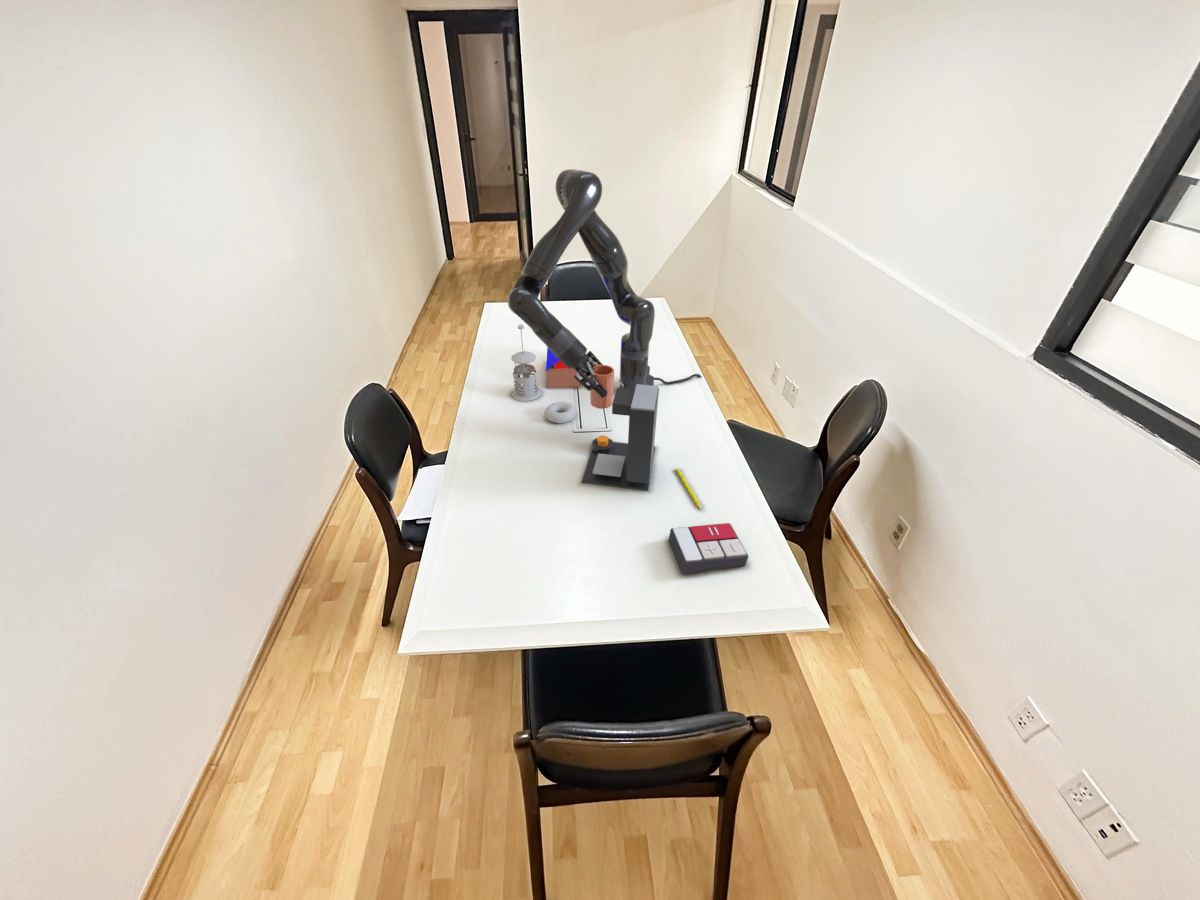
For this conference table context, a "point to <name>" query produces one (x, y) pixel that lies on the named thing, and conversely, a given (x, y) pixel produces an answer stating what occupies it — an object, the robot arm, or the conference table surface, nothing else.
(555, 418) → the donut
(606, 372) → the tumbler
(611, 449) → the coffee maker base
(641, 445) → the coffee maker
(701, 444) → the conference table surface
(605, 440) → the brew button
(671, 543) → the calculator
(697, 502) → the pencil
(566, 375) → the house
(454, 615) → the conference table surface
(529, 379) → the french press
